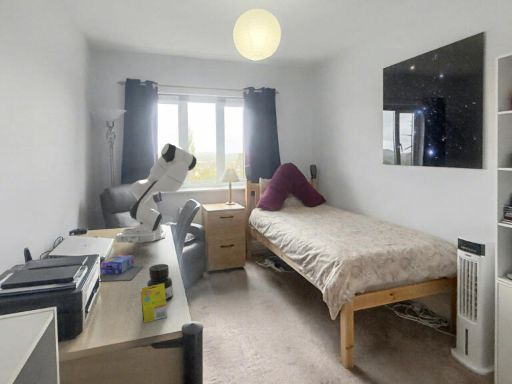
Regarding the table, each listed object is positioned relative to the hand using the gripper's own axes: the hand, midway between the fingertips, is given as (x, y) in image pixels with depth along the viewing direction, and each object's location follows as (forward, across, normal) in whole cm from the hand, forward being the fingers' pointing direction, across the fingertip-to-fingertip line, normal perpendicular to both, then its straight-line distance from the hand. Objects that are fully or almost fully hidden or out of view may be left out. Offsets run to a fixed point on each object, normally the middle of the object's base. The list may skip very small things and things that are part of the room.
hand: (130, 241), depth 160 cm
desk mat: (+18, -2, -10) cm, 21 cm away
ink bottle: (+45, -27, -11) cm, 53 cm away
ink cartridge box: (+8, 0, -7) cm, 10 cm away
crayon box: (+60, -29, -10) cm, 67 cm away
